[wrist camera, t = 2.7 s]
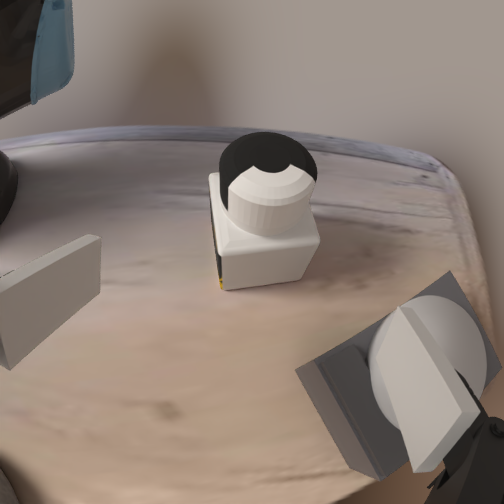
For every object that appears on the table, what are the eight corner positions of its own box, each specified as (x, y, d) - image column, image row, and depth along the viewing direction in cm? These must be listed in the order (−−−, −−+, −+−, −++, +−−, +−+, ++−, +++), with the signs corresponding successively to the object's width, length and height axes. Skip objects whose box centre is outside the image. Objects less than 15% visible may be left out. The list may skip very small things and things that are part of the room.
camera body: (294, 369, 24) (319, 356, 18) (415, 295, 28) (459, 262, 21) (349, 467, 21) (390, 485, 14) (461, 378, 24) (513, 363, 18)
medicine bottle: (211, 221, 30) (205, 123, 20) (284, 213, 31) (310, 118, 21) (220, 292, 27) (216, 213, 16) (301, 280, 28) (344, 200, 17)
